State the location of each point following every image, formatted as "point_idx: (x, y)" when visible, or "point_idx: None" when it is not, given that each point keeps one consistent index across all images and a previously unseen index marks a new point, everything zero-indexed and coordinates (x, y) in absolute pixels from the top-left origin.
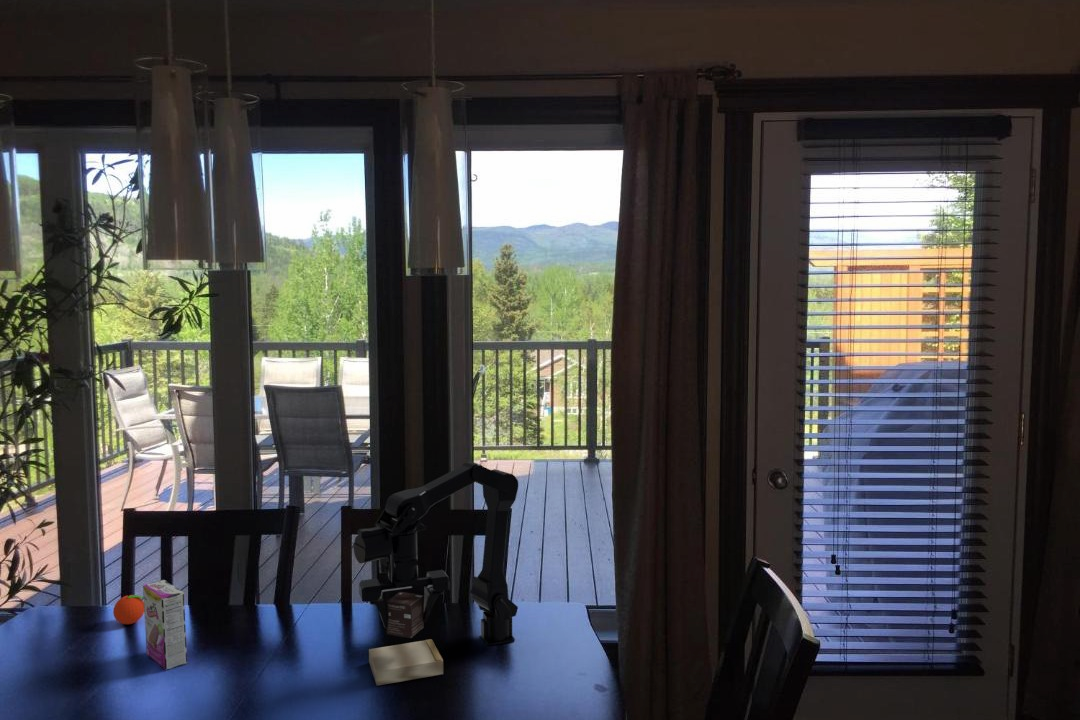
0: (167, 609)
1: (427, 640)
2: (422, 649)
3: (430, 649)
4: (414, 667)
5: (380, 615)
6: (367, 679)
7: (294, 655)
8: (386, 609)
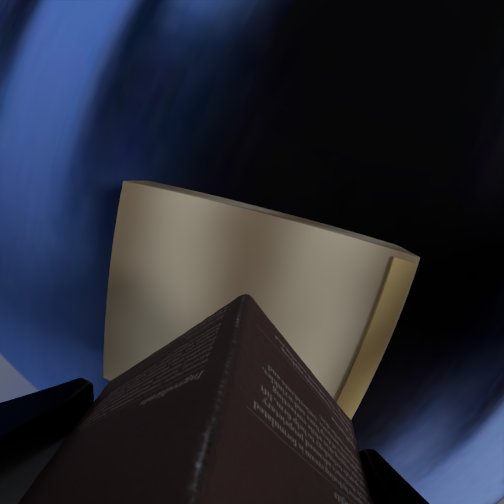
0: None
1: (396, 267)
2: (333, 329)
3: (359, 348)
4: None
5: (19, 397)
6: None
7: (16, 34)
8: (29, 489)
